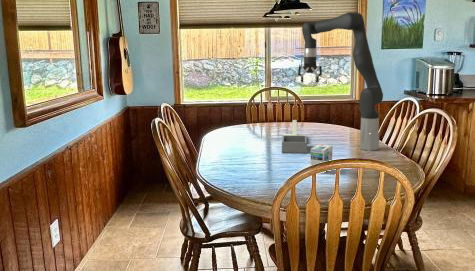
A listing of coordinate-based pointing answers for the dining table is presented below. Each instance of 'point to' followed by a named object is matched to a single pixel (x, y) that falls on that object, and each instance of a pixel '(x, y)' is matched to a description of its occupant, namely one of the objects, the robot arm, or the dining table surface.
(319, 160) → the light bulb box
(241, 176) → the dining table surface
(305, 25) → the robot arm
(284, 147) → the tub
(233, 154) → the dining table surface
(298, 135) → the lid
